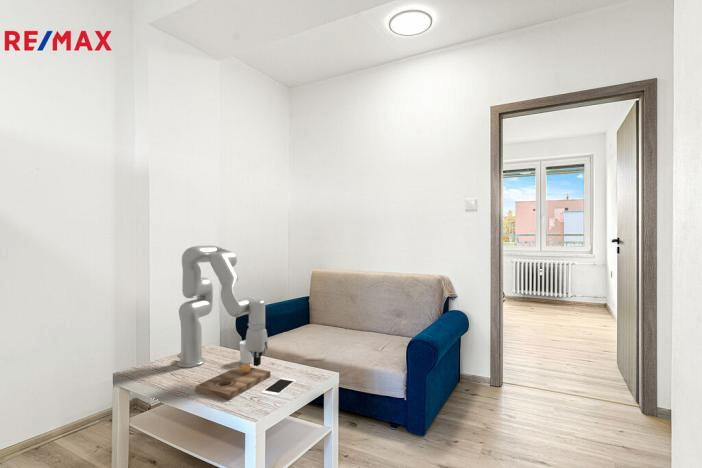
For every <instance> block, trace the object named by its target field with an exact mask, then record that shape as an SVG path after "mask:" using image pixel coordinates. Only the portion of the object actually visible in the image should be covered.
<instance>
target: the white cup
mask: <svg viewBox="0 0 702 468" xmlns="http://www.w3.org/2000/svg"><path fill="white" fill-rule="evenodd" d="M239 357H240V363H241V364H242V365H244V364H246V363H247V364H251V363H252V364H253V363H254V357H252V354H251V352H248V351H247V350H246V339H244V340H241V341H239Z"/></svg>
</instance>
